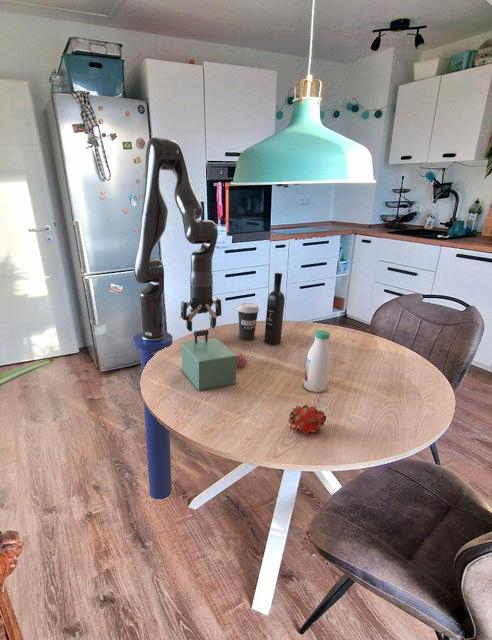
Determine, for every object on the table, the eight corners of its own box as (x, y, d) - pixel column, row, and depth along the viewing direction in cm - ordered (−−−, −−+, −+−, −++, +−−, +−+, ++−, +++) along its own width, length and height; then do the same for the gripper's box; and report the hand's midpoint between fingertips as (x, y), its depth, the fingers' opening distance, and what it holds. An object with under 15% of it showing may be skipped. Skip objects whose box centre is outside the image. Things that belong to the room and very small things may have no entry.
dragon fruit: (282, 436, 108) (319, 435, 112) (298, 435, 100) (336, 434, 104) (280, 406, 110) (316, 406, 114) (295, 403, 102) (333, 403, 106)
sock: (229, 360, 150) (230, 351, 148) (238, 359, 151) (239, 349, 150) (238, 369, 143) (239, 359, 142) (248, 367, 145) (249, 357, 143)
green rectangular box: (182, 370, 141) (181, 345, 137) (216, 364, 146) (216, 340, 142) (198, 390, 127) (198, 363, 123) (235, 383, 133) (236, 357, 129)
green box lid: (181, 344, 138) (180, 330, 135) (215, 339, 143) (216, 326, 141) (198, 363, 123) (198, 348, 121) (236, 357, 129) (237, 343, 127)
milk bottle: (330, 387, 133) (339, 332, 124) (319, 395, 127) (327, 338, 119) (310, 379, 137) (318, 326, 129) (299, 387, 132) (305, 332, 124)
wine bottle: (272, 345, 165) (279, 275, 153) (263, 341, 169) (268, 273, 157) (281, 342, 169) (288, 273, 157) (271, 338, 173) (277, 271, 160)
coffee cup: (233, 339, 170) (234, 306, 164) (239, 332, 179) (240, 301, 172) (254, 342, 168) (256, 309, 162) (259, 335, 176) (261, 303, 170)
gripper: (216, 279, 135) (215, 323, 142) (177, 282, 130) (178, 328, 136) (225, 284, 129) (224, 330, 136) (185, 287, 124) (185, 335, 130)
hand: (201, 329), depth 136 cm, fingers open, 8 cm apart
